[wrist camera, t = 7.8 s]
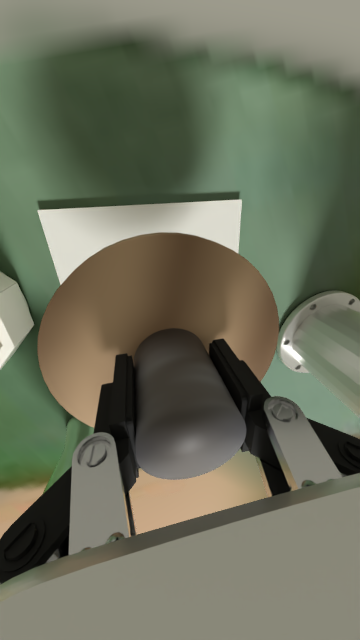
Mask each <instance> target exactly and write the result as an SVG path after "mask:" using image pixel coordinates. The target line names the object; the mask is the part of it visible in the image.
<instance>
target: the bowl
mask: <svg viewBox="0 0 360 640" xmlns="http://www.w3.org/2000/svg"><path fill="white" fill-rule="evenodd" d="M33 326H34V322H33V320H32V317H31V315H30V312H29V307H28V304H27V301H26V299H25V297H24V295H23V294H22V292H21V290H20V288H19V285H18V283H16V281H14V280H13V279H11V278H9V277H8V276H6V275H5V274H4V273H3V272H1V271H0V370H1V368H2V367H3V366H4V365H5V364H6V362H7V361H8V360H9V359H10V358H11V356H12V355H13V354H14V353H15V351H16V350H17V348H18V347H19V346H20V344H21V343H22V341H23V340H24V339H25V337H26V336H27V334H28V333H29V332H30V330H31V329H32V327H33Z"/></svg>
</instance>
